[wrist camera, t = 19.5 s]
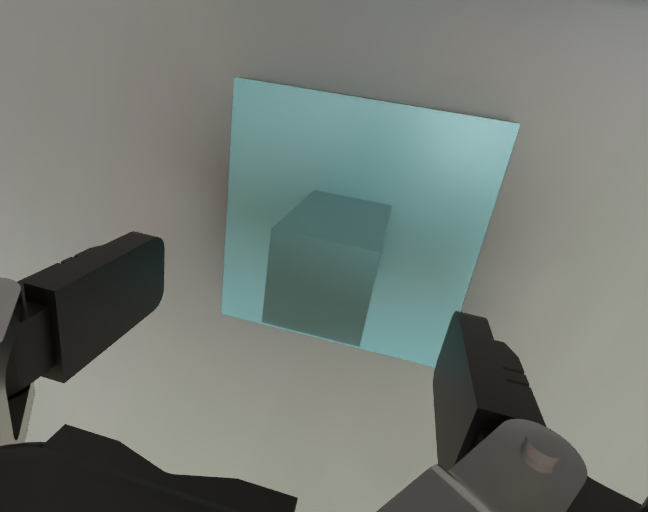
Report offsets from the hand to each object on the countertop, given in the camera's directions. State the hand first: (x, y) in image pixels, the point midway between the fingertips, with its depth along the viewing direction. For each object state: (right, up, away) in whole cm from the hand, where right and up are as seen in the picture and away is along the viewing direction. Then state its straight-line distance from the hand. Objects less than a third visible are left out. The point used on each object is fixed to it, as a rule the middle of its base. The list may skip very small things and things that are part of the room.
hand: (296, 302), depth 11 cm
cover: (+2, +3, +6) cm, 7 cm away
